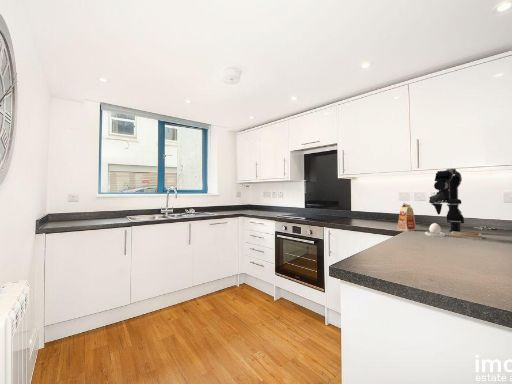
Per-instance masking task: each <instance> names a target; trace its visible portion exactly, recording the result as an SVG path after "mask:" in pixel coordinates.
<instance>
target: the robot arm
mask: <svg viewBox="0 0 512 384" xmlns="http://www.w3.org/2000/svg"><path fill="white" fill-rule="evenodd" d="M434 177H435V178H434V184H433V187H434V189H435V190H437V191H436V192H435V193H436V194H434V195H431V196H429V197H428V198H429V200H428V203H429V204H431V205H432V206H433V207H434V208H435V211H436V214H437V215H441V213H442V212H441V211H442V209H443V208H442V207H443V204H446V206H447V207H448V211H447V214H446V223H449V232H450V233H451V232H452V231H454V232H463V231H462V230H461V228H462V225H461V224H465V217H464V216H463V214H462V211H461V210H460V208H459V206H460V205H462V200H461V199H460V198H459V187H460V185H461V183H462V182H463V181H462V180H463V177H462V174H461V172H459V171H457V170H456V168H446V170H437V172H436V173H435V176H434Z"/></svg>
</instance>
